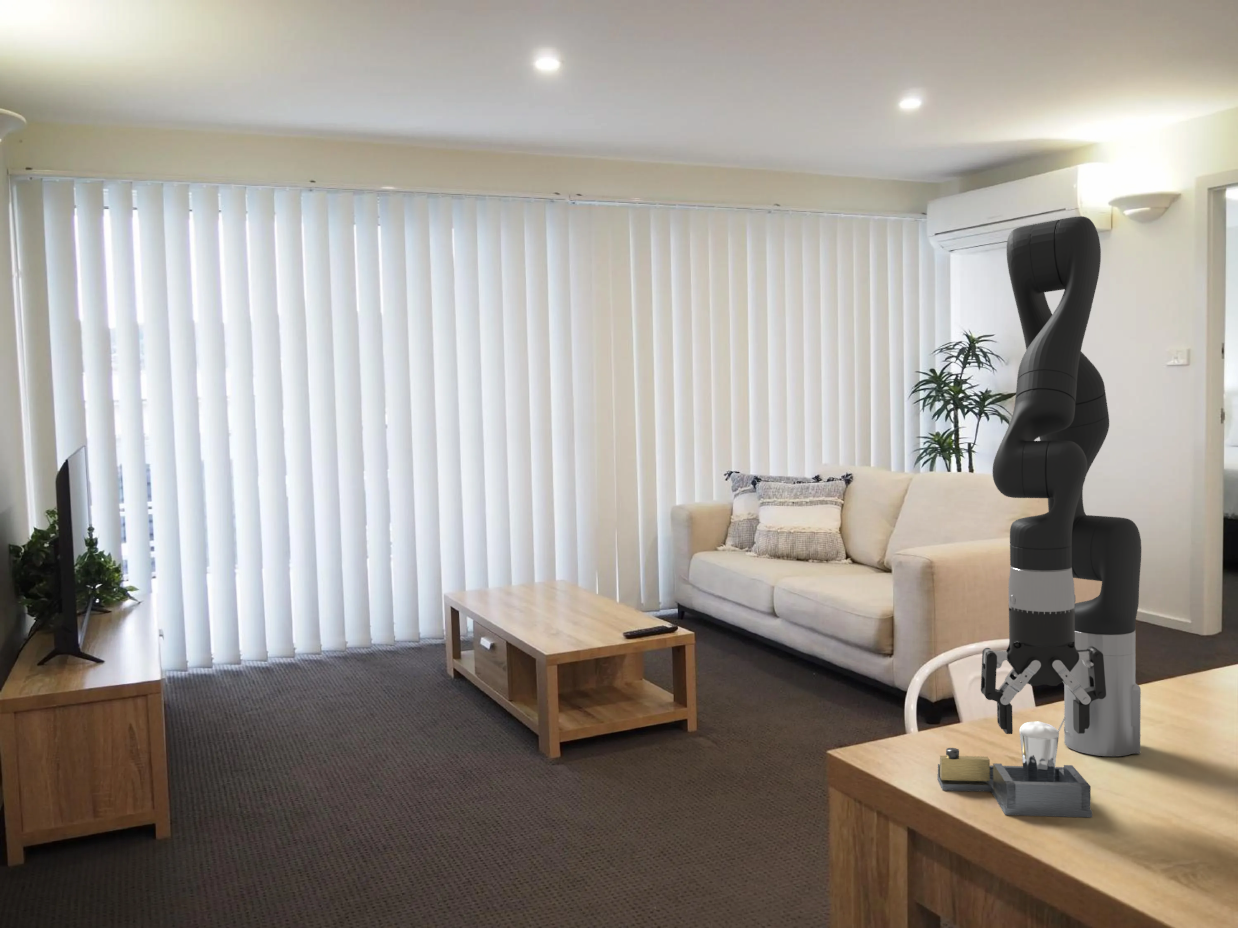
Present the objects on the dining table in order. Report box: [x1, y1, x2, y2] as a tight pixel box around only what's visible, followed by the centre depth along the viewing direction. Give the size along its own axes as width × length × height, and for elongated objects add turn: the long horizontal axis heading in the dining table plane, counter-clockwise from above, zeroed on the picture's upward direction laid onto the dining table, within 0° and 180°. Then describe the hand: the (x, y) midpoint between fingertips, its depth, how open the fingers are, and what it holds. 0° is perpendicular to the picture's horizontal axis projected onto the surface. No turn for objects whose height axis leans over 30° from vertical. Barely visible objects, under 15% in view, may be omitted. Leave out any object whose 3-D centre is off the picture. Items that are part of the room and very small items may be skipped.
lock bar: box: [939, 747, 991, 781], centre depth 135 cm, size 6×2×4 cm, turn 82°
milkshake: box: [1019, 716, 1066, 782], centre depth 129 cm, size 4×5×10 cm
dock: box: [937, 763, 1093, 818], centre depth 131 cm, size 16×12×4 cm
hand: (1042, 731), depth 129 cm, fingers open, 8 cm apart
